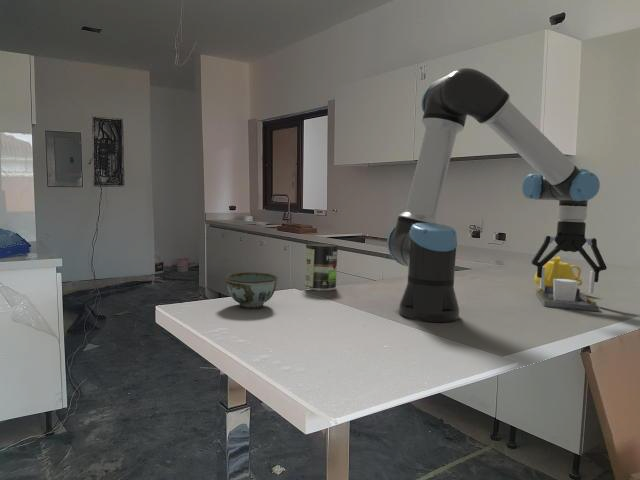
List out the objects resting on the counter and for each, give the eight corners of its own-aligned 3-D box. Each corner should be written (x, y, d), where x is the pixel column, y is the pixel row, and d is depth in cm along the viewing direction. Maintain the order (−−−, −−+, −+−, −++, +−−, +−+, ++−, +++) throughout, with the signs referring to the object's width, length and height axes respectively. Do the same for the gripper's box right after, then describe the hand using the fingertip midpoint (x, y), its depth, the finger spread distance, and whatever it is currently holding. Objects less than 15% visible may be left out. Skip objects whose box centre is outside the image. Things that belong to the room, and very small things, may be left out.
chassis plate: (598, 311, 137) (599, 299, 136) (544, 306, 141) (545, 294, 140) (583, 299, 154) (584, 288, 153) (535, 294, 158) (536, 284, 158)
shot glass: (579, 303, 147) (581, 280, 147) (572, 306, 142) (574, 282, 142) (555, 299, 152) (557, 277, 151) (548, 302, 147) (550, 279, 146)
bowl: (256, 298, 137) (257, 270, 136) (287, 307, 127) (288, 277, 127) (214, 304, 127) (215, 274, 127) (245, 315, 118) (245, 282, 117)
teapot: (581, 299, 154) (584, 263, 153) (531, 293, 161) (533, 259, 160) (581, 289, 171) (584, 257, 170) (535, 284, 178) (538, 253, 177)
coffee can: (342, 287, 158) (343, 244, 157) (325, 292, 149) (327, 247, 148) (315, 283, 163) (317, 242, 162) (298, 288, 155) (299, 244, 153)
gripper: (615, 222, 145) (608, 292, 147) (525, 218, 152) (520, 284, 154) (622, 223, 138) (615, 296, 140) (528, 219, 145) (523, 288, 147)
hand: (565, 290), depth 147 cm, fingers open, 13 cm apart
